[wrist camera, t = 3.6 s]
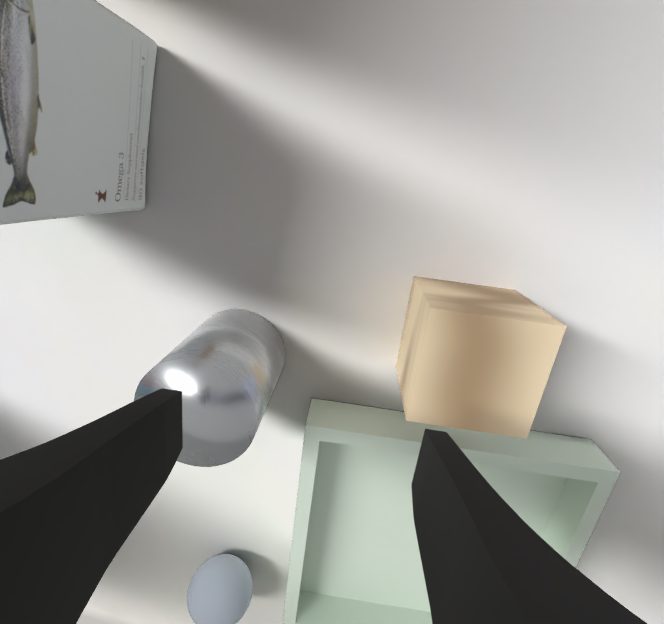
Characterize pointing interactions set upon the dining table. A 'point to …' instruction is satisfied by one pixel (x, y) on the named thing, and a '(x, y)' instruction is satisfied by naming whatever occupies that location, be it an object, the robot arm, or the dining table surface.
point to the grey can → (221, 384)
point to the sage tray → (397, 508)
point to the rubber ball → (220, 591)
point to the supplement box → (72, 110)
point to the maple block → (475, 357)
